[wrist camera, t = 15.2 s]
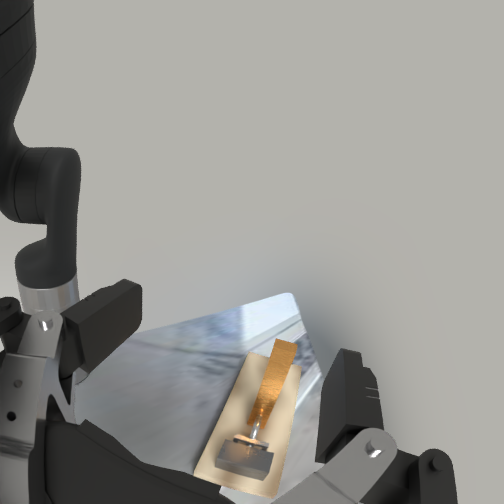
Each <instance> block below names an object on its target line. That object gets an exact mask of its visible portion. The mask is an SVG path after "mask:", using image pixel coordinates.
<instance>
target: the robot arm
mask: <svg viewBox="0 0 504 504" xmlns="http://www.w3.org/2000/svg"><path fill="white" fill-rule="evenodd" d="M33 2H34V0H0V211H1V212H2V213H3V214H4V215H5V216H6V217H7V218H8V219H10V220H12V221H14V222H18V223H28V224H46V225H47V236H46V238H44V239H42V240H40V241H37V242H34V243H32V244H29V245H27V246H26V247H24V248H23V249H22V250H20V251H19V252H18V254H17V256H16V258H15V269H16V276H17V282H18V287H19V292H20V297H21V301H22V306H23V310H24V312H22V311H21V306H20V302H19V301H18V299H16V298H14V297H4V298H0V338H1V341H2V343H3V346H4V350H3V351H1V352H0V504H235V503H234V502H233V501H231V500H230V499H228V498H227V497H225V496H223V495H222V494H220V493H219V491H220V488H221V485H218V484H215V483H212V482H209V481H206V480H203V479H201V478H198V477H195V476H193V475H190V474H187V473H185V472H181V471H176V470H171V469H167V468H162V467H158V466H154V465H150V464H146V463H143V462H141V461H140V460H138V459H137V458H136V457H135V456H134V455H133V454H131V453H130V452H129V451H128V450H127V449H126V448H125V447H124V446H123V445H121V444H120V443H119V442H118V441H117V440H116V439H115V438H114V437H113V436H111V435H109V434H108V433H106V432H105V431H103V430H101V429H100V428H98V427H97V426H95V425H94V424H92V423H91V422H89V421H88V420H86V419H85V420H84V421H83V422H82V424H81V425H77V424H76V420H75V415H74V401H75V384H77V383H79V382H81V381H82V380H84V379H85V378H86V376H87V375H88V374H89V373H90V372H91V371H92V370H94V369H95V368H96V367H97V366H98V365H99V364H100V363H101V362H102V361H103V360H104V359H105V358H107V357H108V356H109V355H110V354H111V353H112V352H113V351H114V350H115V349H116V348H117V347H119V346H120V345H121V344H122V343H123V342H124V341H125V340H126V339H127V338H129V337H130V336H131V335H132V334H133V333H134V332H135V331H136V330H137V329H138V328H139V326H140V324H141V320H142V287H141V285H139V284H137V283H134V282H132V281H129V280H127V279H123V280H121V281H119V282H117V283H116V284H114V285H112V286H108V287H105V288H101V289H99V290H97V291H95V292H94V293H92V294H91V295H89V296H87V297H86V298H85V299H82V300H81V301H80V300H79V291H78V281H77V267H76V245H77V244H76V242H77V241H76V240H77V235H76V234H77V212H78V202H79V193H80V182H81V162H80V157H79V155H78V153H77V151H76V150H74V149H72V148H61V147H40V148H39V147H38V148H37V147H36V148H29V147H26V146H24V145H23V144H22V143H21V142H20V140H19V138H18V136H17V134H16V132H15V128H14V125H13V123H14V119H15V116H16V114H17V111H18V108H19V106H20V103H21V101H22V98H23V96H24V94H25V91H26V88H27V86H28V83H29V80H30V77H31V74H32V71H33V68H34V64H35V59H36V35H35V34H36V33H35V21H34V3H33ZM377 390H378V386H377V381H376V377H375V376H374V374H373V373H372V371H371V370H370V368H367V367H363V364H362V357H361V353H360V352H356V351H351V350H347V349H342V348H341V349H340V350H339V352H338V354H337V356H336V358H335V360H334V362H333V364H332V366H331V368H330V370H329V372H328V374H327V376H326V378H325V380H324V383H323V387H322V391H321V404H320V417H319V428H318V438H317V447H316V456H315V462H318V463H325V465H324V466H323V467H322V468H321V469H319V470H318V471H317V472H314V473H313V474H311V475H310V476H309V477H307V478H306V479H305V480H303V481H302V482H301V483H299V484H298V485H297V486H295V487H294V488H293V489H291V490H290V491H288V492H287V493H286V494H284V495H283V496H281V497H280V498H278V499H277V500H275V501H274V502H272V503H271V504H358V502H361V503H364V504H458V503H457V492H456V484H455V477H454V470H453V465H452V461H451V459H450V458H449V456H448V455H447V454H446V453H445V452H443V451H441V450H439V449H429V450H426V451H425V452H423V453H422V454H421V455H420V456H415V455H412V454H409V453H406V452H403V451H401V450H398V449H397V445H396V442H395V440H394V439H393V437H392V436H391V435H390V434H389V433H387V432H385V431H384V427H383V419H382V412H381V405H380V399H379V392H378V391H377Z"/></svg>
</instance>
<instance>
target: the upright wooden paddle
mask: <svg viewBox="0 0 504 504" xmlns="http://www.w3.org/2000/svg"><path fill="white" fill-rule="evenodd" d="M296 350H297V344H294V343H290V342H287V341H283V340H280V339H276V340H275V343H274V346H273V349H272V353H271V356H270V359H269V362H268V365H267V368H266V371H265V374H264V377H263V380H262V383H261V385H260V388H259V391H258V394H257V397H256V400H255V403H254V405H253V408H252V411H251V414H250V416H249V419H248V422H247V425H250V426H253V428H252V431H251V434H250V438H248V437H244V436H241V435H238V434H235V436H234V439H233V442H236V443H238V441H241V442H244V443H247V444H251V445H255V446H258V447H262V448H261V450H264V451H267V449H268V447H269V443H266V442H262V441H259V440H255V439H256V437H257V434H258V431H259V428H261V429H264V427H265V425H266V423H267V421H268V419H269V416H270V414H271V412H272V410H273V407H274V405H275V403H276V401H277V398H278V396H279V394H280V391H281V389H282V386H283V384H284V382H285V379H286V377H287V374H288V372H289V369H290V367H291V364H292V362H293V359H294V357H295V354H296Z"/></svg>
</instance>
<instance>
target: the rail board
mask: <svg viewBox="0 0 504 504" xmlns="http://www.w3.org/2000/svg"><path fill="white" fill-rule="evenodd" d="M269 359H270V358H268V357H265V356H261V355H258V354H255V353H251V352H249V353H248V355H247V357H246V360H245V362H244V364H243V367H242V369H241V371H240V373H239V376H238V378H237V380H236V382H235V385H234V387H233V389H232V391H231V394H230V396H229V398H228V400H227V403H226V405H225V407H224V409H223V411H222V413H221V416H220V418H219V420H218V422H217V424H216V426H215V429H214V431H213V433H212V435H211V437H210V439H209V441H208V443H207V445H206V448H205V450H204V452H203V454H202V456H201V458H200V460H199V462H198V464H197V466H196V468H195V470H194V476H196V477H198V478H201V479H204V480H207V481H210V482H212V483H215V484H219V485H222V486H225V487H228V488H232V489H235V490H239V491H242V492H246V493H250V494H254V495H258V496H263V497H267V498H273V497H274V496H275V495H276V494H277V491H278V487H279V483H280V479H281V475H282V470H283V466H284V461H285V457H286V452H287V447H288V443H289V438H290V433H291V427H292V422H293V417H294V411H295V406H296V400H297V394H298V388H299V381H300V375H301V368H302V367H301V366H297V365H294V364H291V367H290V369H289V372H288V374H287V377H286V379H285V382H284V384H283V386H282V389H281V391H280V394H279V396H278V398H277V401H276V403H275V405H274V407H273V410H272V412H271V414H270V416H269V419H268V421H267V423H266V425H265V427H264V429H261V428H259V431H258V434H257V437H256V440H259V441H262V442H266V443H269V447H268V449H267V451H268V452H273V453H274V456H273V460H272V464H271V468H270V472H269V474H268V475H267V476H266V478H265V479H264V480H263V481H261V480H257V479H253V478H249V477H245V476H241V475H238V474H234V473H231V472H228V471H225V470H222V469H218V468H215V464H216V460H217V457H218V455H219V452H220V450H221V448H222V445H223V443H224V441H225V439H227V440H230V441H233V439H234V436H235V434H238V435H241V436H244V437H248V436H249V434H251V431H252V428H253V426H250V425H247V422H248V419H249V416H250V414H251V411H252V408H253V405H254V403H255V400H256V397H257V394H258V391H259V388H260V385H261V383H262V380H263V377H264V374H265V371H266V368H267V365H268V362H269ZM238 443H239V444H243V445H246V443H244V442H241V441H238ZM253 448H257V449H261V448H262V447H258V446H255V445H254V447H253Z"/></svg>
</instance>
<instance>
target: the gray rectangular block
mask: <svg viewBox="0 0 504 504" xmlns="http://www.w3.org/2000/svg"><path fill="white" fill-rule="evenodd" d="M248 438H250V434H249V436H248ZM255 440H256V439H255ZM253 447H254V445H251V444H247V443H246V445H243V444H239V443H236V442H233V441H230V440H227V439H225V441H224V443H223V445H222V448H221V450H220V452H219V455H218V457H217V460H216V464H215V468H218V469H222V470H225V471H228V472H231V473H234V474H238V475H241V476H245V477H249V478H253V479H257V480H261V481H263V480H264V479H265V478H266V476H267V475H268V474H269V472H270V468H271V464H272V460H273V456H274V453H273V452H268V451H264V450H261V449H257V448H253Z"/></svg>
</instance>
